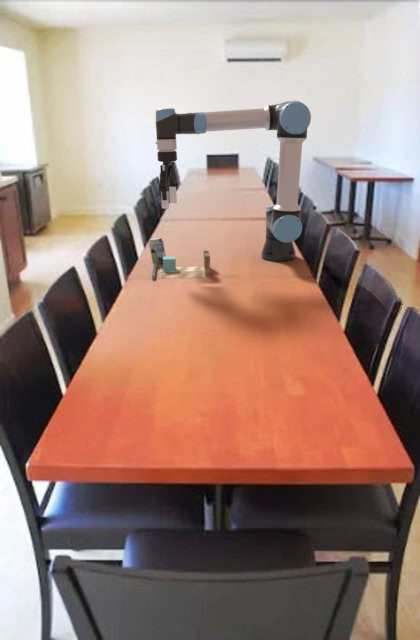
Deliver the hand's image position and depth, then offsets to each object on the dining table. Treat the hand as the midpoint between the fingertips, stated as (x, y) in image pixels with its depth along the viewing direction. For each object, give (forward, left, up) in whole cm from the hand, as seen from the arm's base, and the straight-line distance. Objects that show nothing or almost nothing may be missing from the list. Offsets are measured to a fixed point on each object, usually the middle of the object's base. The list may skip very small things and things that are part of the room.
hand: (169, 205), depth 227 cm
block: (+1, +6, -25) cm, 26 cm away
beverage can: (+6, -6, -27) cm, 28 cm away
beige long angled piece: (-5, +6, -26) cm, 27 cm away
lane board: (-5, +10, -26) cm, 29 cm away
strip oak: (-5, +15, -26) cm, 31 cm away
